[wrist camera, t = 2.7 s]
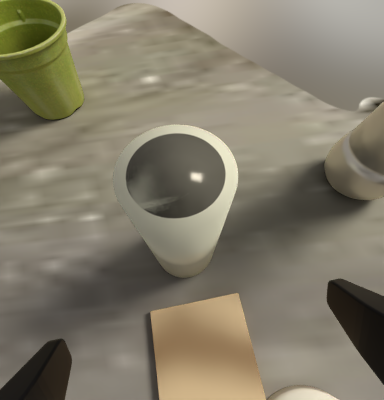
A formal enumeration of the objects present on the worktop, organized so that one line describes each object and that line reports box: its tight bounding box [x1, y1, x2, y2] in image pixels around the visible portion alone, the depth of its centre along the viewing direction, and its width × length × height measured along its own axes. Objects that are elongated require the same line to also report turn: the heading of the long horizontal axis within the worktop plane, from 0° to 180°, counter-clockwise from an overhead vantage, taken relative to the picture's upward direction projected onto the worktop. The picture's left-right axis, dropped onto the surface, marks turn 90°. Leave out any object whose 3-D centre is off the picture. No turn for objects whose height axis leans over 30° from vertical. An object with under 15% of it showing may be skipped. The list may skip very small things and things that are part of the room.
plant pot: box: [0, 0, 84, 120], centre depth 25 cm, size 9×9×9 cm
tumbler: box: [113, 125, 238, 278], centre depth 15 cm, size 5×5×12 cm
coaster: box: [150, 293, 266, 400], centre depth 17 cm, size 7×7×1 cm
